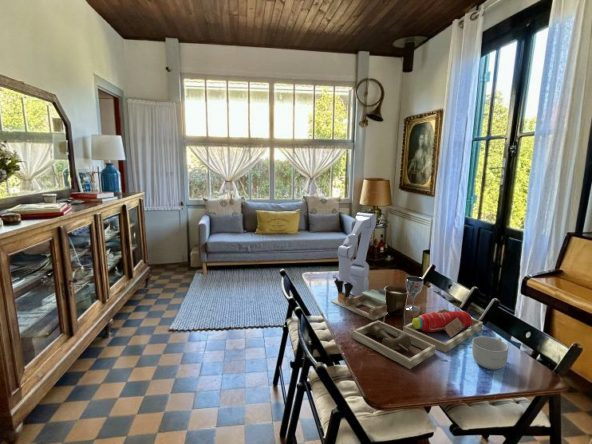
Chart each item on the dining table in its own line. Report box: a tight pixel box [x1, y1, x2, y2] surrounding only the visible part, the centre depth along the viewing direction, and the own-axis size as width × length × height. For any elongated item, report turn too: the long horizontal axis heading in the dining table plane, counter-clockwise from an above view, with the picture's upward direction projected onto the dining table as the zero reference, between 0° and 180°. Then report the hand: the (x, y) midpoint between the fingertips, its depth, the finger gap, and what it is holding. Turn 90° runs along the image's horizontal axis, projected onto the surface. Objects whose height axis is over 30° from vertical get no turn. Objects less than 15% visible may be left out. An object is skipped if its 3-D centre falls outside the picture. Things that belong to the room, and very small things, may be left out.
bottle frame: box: [402, 307, 484, 353], centre depth 138 cm, size 31×18×3 cm, turn 128°
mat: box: [330, 297, 351, 308], centre depth 167 cm, size 10×8×1 cm
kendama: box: [368, 322, 412, 352], centre depth 127 cm, size 6×10×20 cm
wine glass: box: [404, 275, 424, 312], centre depth 160 cm, size 8×8×15 cm
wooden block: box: [337, 291, 350, 303], centre depth 167 cm, size 4×4×4 cm
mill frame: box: [352, 319, 436, 370], centre depth 126 cm, size 16×26×3 cm, turn 38°
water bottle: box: [411, 310, 473, 338], centre depth 137 cm, size 12×8×25 cm
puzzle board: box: [343, 295, 389, 321], centre depth 160 cm, size 20×18×4 cm
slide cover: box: [361, 288, 386, 304], centre depth 163 cm, size 8×16×3 cm, turn 38°
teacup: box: [471, 335, 509, 370], centre depth 115 cm, size 14×11×8 cm
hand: (343, 295), depth 167 cm, fingers open, 4 cm apart
